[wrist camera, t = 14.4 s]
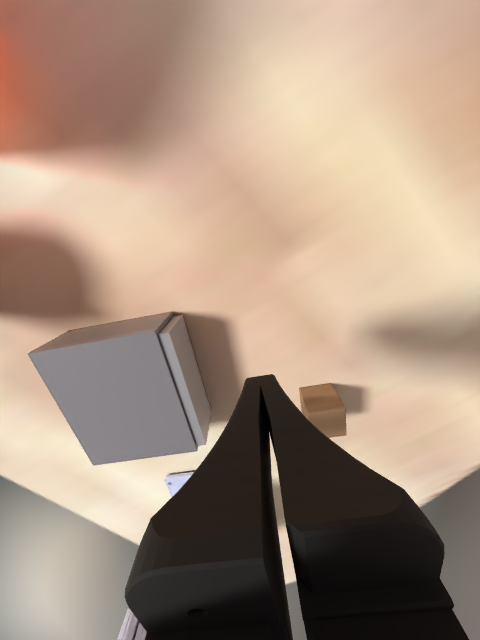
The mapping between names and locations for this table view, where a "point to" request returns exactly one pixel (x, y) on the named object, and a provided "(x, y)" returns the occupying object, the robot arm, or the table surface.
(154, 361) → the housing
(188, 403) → the grey drawer
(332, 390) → the walnut block
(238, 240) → the table surface
